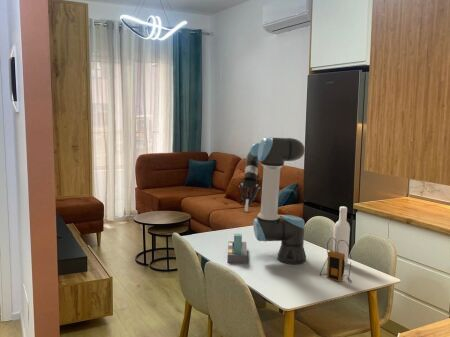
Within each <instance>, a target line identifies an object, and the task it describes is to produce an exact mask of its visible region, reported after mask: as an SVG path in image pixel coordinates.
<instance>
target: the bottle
mask: <svg viewBox="0 0 450 337" xmlns="http://www.w3.org/2000/svg"><path fill="white" fill-rule="evenodd" d="M347 215H348V207H347V206H339V216H338V217H339V218H338V221H336V222H335V224H334V229H333V246H332V247H333V248H332V251H335V246H336V252H337V247H338V252H339V253H343V254H345V259H344V261H345V266H348V265H349V264H348V263H349V251H350V250H349V248H350V235H351V234H350V233H351V226H350V223H349V222H348V221H347ZM334 238H335V239H334ZM335 240H336V241H335ZM340 240H344V241H340ZM345 241H346V242H347V243H346V242H345ZM338 242H339V243H338ZM347 244H348V245H347ZM348 246H349V247H348Z"/></svg>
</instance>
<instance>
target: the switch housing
mask: <svg viewBox="0 0 450 337" xmlns="http://www.w3.org/2000/svg"><path fill="white" fill-rule="evenodd" d="M227 244H228V245H227V259H226V260H227V263H228V264H248V247H247V242H246V241H242V247H241V250H242V255H237V254H233V250H234V240H233V241H232V240H231V241H228V243H227Z"/></svg>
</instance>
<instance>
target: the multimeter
mask: <svg viewBox="0 0 450 337" xmlns="http://www.w3.org/2000/svg"><path fill="white" fill-rule="evenodd" d="M331 239H332V237H330V238H329V239H328V240H327V245H326V252H327V258H326V261H325V262H324V265H323V266H322V268H321V271H320V272H319V276H325V275H326V279H328V280H333V281H336V282H339V283H340V282H342V281H343V280H344V277H345V275H344V274H345V266H346V265H345V261H344V259H345V254H343V253H339V252H338V247H337V252H336V246H335V251H333V250H330V251H329V249H328V244H329V242H330V241H331ZM334 239H335V238H334V237H333V240H334ZM335 241H336V240H335ZM340 241H344V240H340ZM345 242H346V241H345ZM338 243H339V242H338ZM346 243H347V242H346ZM347 245H348V244H347ZM348 247H349V250H348V251H351V249H350V245H349V246H348ZM349 255H350V258H352V254H351V252H349ZM326 263H327V265H326ZM325 265H326V266H327V268H326V273H324V274H322V271H323V269H324V267H325ZM351 267H352V263H350V264H349V269H351ZM350 273H351V270H349V271H348V276H350ZM346 279H348V280H347V281H348V282H350V283H352V279H351V278H350V277H346Z"/></svg>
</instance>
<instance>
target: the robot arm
mask: <svg viewBox="0 0 450 337" xmlns="http://www.w3.org/2000/svg"><path fill="white" fill-rule="evenodd" d="M305 150H306V148H305V145H304V144H303V142H301V141H300V140H298V139H297V138H291V137H263V138H262V139H261V141H260V142H256V143H254V144H252V145H251V147H250V149H249V151H247V155H246V162H245V163H246V164H245V168H244V176H243V181H242V182H240V183H238V187H239V189H240V190H239V191H240V197H241V200H243V206H244V211H245V212H248V211H249V207H250V206H251V203H252V201H253V202H254V201H255V198H256V197H257V194H258V191H259V190H260V189H261V199H260V200H261V201H260V212H258V213H257V215H256V217H255V218H254V219H253V225H252V226H253V227H252V228H253V232H254V236H255V239H256V240H257V241H258V242H265V243H266V242H280V241H281V243H280V247H279V249H278V252H277V258H276V259H277V261H279V262H281V263H284V264H290V265H301V264H304V263H306V262H307V255H306V250H305V247H304V243H305V229H306V227H305V226H306V225H305V220H304V219H303V218H302V217H299V216H296V215H291V214H284V215H282V216H280V214H279V213H278V209H279V208H278V207H279V192H280V183H281V182H280V179H281V169H282V167H284V166H285V162H293V161H297V160H300V159H301V158H303V156H304V154H305V152H306V151H305ZM259 163H260V164H259ZM259 165H261V166H262V167H263V170H262V185H260V184H258V182H257V180H258V171H259ZM261 186H262V187H261ZM243 187H244V189H245V190H244V189H243ZM253 189H254V192H253ZM248 192H249V193H248Z"/></svg>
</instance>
